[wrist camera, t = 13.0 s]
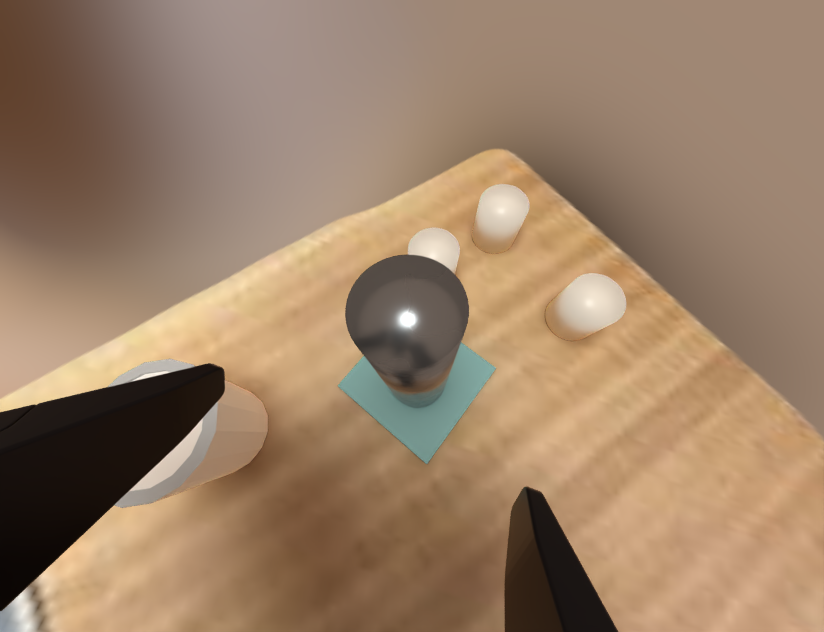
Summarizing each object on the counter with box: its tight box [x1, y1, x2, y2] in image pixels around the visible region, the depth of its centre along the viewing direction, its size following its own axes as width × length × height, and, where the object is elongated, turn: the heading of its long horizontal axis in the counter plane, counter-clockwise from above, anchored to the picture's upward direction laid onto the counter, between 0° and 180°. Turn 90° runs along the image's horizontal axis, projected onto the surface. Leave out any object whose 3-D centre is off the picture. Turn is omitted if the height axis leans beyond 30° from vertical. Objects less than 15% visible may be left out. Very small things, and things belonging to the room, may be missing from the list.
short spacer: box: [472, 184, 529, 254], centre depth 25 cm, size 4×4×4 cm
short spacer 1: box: [408, 228, 460, 274], centre depth 24 cm, size 4×4×4 cm
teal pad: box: [338, 343, 496, 464], centre depth 23 cm, size 8×8×1 cm
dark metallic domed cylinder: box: [345, 255, 469, 408], centre depth 16 cm, size 4×4×13 cm
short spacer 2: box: [545, 273, 626, 341], centre depth 22 cm, size 4×4×4 cm
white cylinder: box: [108, 359, 268, 508], centre depth 19 cm, size 7×7×7 cm
